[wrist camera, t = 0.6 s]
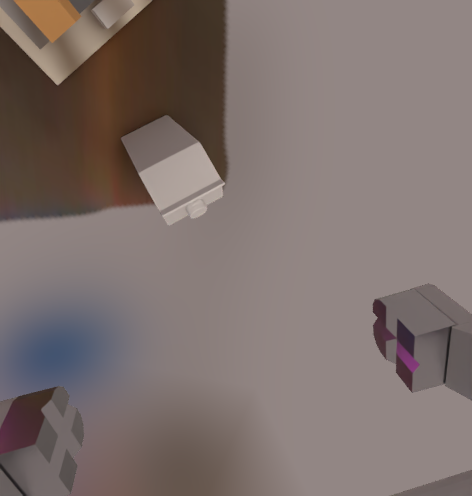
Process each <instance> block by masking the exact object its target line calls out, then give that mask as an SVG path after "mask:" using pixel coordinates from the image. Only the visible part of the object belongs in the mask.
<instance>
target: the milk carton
mask: <svg viewBox="0 0 472 496" xmlns="http://www.w3.org/2000/svg"><path fill="white" fill-rule="evenodd" d="M121 140H122V142H123V144H124V146H125V148H126V150H127V152H128V154H129V156H130V158H131V160H132V162H133V164H134V166H135V168H136V170H137V172H138V174H139V176H140V178H141V179H142V181H143V183H144V185H145V187H146V188H147V190H148V192H149V194H150V196H151V197H152V199H153V201H154V203H155V204H156V206H157V208H158V210H159V212H160V214H161V215H162V217H163V218H164V220H165V221H166V223H167V224H168V225H171V224H173V223H175V222H177V221H179V220H181V219H182V218H184V217H186V216H188V215H189V217H190V218H192V219H194V218H197V217H199V216H201V215H202V214H204V213H205V212H206V211H207V207H206V205H208V204H210V203H212V202H214V201H216V200H218V199H219V198H221V197H223V191H222V186H223V185H224V184H225V183H224V182H223V181H222V180H221V178H220V177H219V175H218V173H217V171H216V170H215V168H214V166H213V164H212V163H211V161H210V159H209V157H208V156H207V154H206V152H205V150H204V149H203V147H202V145H201V144H200V142H199V141H197V140H196V139H195V138H194V137H193V136H192V135H190V134H189V133H188V132H187V131H186V130H184V129H183V128H182V127H181V126H180V125H179V124H177V123H176V122H175V121H174V120H173V119H172V118H170V117H169V116H168V115H165V116H163V117H161V118H159V119H157V120H155V121H153V122H151V123H149V124H147V125H145V126H143V127H141V128H139V129H137V130H135V131H133V132H131V133H129V134H127V135H125V136H123V137H121Z"/></svg>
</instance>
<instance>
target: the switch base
mask: <svg viewBox="0 0 472 496" xmlns="http://www.w3.org/2000/svg"><path fill="white" fill-rule="evenodd" d="M151 1H152V0H94V1H93V2H92V3H91V4H90V5H89V6H88V7H87V8H86V9H85V10H83V11H82V12H81V13H80V15H81V16H82V17H81V18H80V19H79V20H78V21H76V22H75V23H74V24H73V25H72V26H71V27H70V28H69V29H68V30H66V31H65V32H64V33H63V34H62V35H61V36H60V37H59V38H58V39H56V40H55V41H54V42H53V43H51V41H50V40H49V39H48V38H47V37H46V36H45V35H44V34H43V33H42V31H41V30H40V29H39V28H38V27H37V26H36V25H35V24H34V23H33V21H32V20H31V19H30V18H29V17H28V16H27V15H26V14H25V13H24V12H23V10H22V9H21V8H20V7H19V6H18V5H17V4H16V3H15V2H14V0H0V27H1V28H2V29H3V30H4V31H5V32H6V33H7V34H8V35H9V36H10V37H11V38H12V39H13V40H14V41H15V42H16V43H17V44H18V45H19V46H20V47H21V48H22V49H23V50H24V51H25V52H26V54H27V55H28V56H29V57H30V58H31V59H32V60H33V61H34V62H35V63H36V64H37V65H38V66H39V67H40V68H41V69H42V70H43V71H44V72H45V73H46V74H47V75H48V76H49V77H50V78H51V79H52V80H53V81H54V82H55V83H56V84H57V86H58V85H59V84H60V83H61V82H62V81H63V80H64V79H66V78H67V77H68V76H69V75H70V74H71V73H72V72H73V71H74V70H76V69H77V68H78V67H79V66H80V65H81V64H82V63H83V62H84V61H86V60H87V59H88V58H89V57H90V56H91V55H92V54H93V53H94V52H96V51H97V50H98V49H99V48H100V47H101V46H102V45H103V44H104V43H106V42H107V41H108V40H109V39H110V38H111V37H112V36H113V35H114V34H116V33H117V32H118V31H119V30H120V29H121V28H122V27H123V26H124V25H126V24H127V23H128V22H129V21H130V20H131V19H132V18H133V17H134V16H136V15H137V14H138V13H139V12H140V11H141V10H142V9H143V8H144V7H146V6H147V5H148V4H149V3H150V2H151Z"/></svg>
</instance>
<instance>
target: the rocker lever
mask: <svg viewBox="0 0 472 496" xmlns="http://www.w3.org/2000/svg"><path fill="white" fill-rule="evenodd" d="M93 1H94V0H14V2H15V3H16V4H17V5H18V6H19V7H20V8H21V9H22V10H23V12H24V13H25V14H26V15H27V16H28V17H29V18H30V19H31V20H32V21H33V23H34V24H35V25H36V26H37V27H38V28H39V29H40V30H41V31H42V33H43V34H44V35H45V36H46V37H47V38H48V39H49V40H50V41H51V43H53V42H54V41H55V40H56V39H58V38H59V37H60V36H61V35H62V34H63V33H64V32H65V31H66V30H68V29H69V28H70V27H71V26H72V25H73V24H74V23H75V22H76V21H78V20H79V19H80V18H81V17H82V16H81V15H80V13H81V12H82V11H83V10H85V9H86V8H87V7H88V6H89V5H90V4H91V3H92V2H93Z"/></svg>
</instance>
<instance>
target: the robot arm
mask: <svg viewBox="0 0 472 496" xmlns="http://www.w3.org/2000/svg"><path fill="white" fill-rule="evenodd" d="M373 313H374V314H375V315H376V316H377V317H378V318H377V320H376V322H375V323H374V325H373V332H374V338H375V341H376V344H377V346H378V348H379V350H380V352H381V353H382V355H383V356H384V357H385V359H386V360H388V361H391V362H393V363H395V364H396V373H397V374H398V376H399V377H400V378H401V379H402V381H403V382H404V383H405V385H406V386H407V387H408V388H409V390H410V391H411V392H412V393H413V392H417V391H421V390H424V389H428V388H432V387H436V386H439V385H443V384H445V386H446V387H448V388H450V389H452V390H454V391H456V392H457V393H459V394H461V395H463V396H465V397H466V398H468V399H470V400H472V314H471V313H469V312H468V311H467V310H466V309H464V308H463V307H462V306H460V305H459V304H458V303H457V302H455V301H454V300H453V299H451V298H450V297H449V296H447V295H446V294H445V293H444V292H442V291H441V290H440V289H438V288H437V287H436V286H435V285H432V284H425V285H422V286H419V287H415V288H412V289H410V290H406V291H403V292H399V293H396V294H392V295H389V296H385V297H382V298H378V299H375V300H374V302H373ZM68 400H69V394H68V393H67V391H66V390H65V388H64V387H60V386H58V387H54V388H50V389H46V390H42V391H38V392H34V393H30V394H26V395H22V396H18V397H15V398H11V399H7V400H3V401H0V496H66V495H70V494H71V491H72V487H73V482H74V478H75V474H76V470H77V464H76V462H75V461H74V459H73V458H74V456H75V455H76V454H77V453H78V451H79V450H80V449H81V447H82V442H83V437H84V430H83V421H82V418H81V415H80V413H79V411H78V409H77V408H75V407H73V406H70V405H68ZM391 496H472V470H470V471H467V472H463V473H460V474H457V475H454V476H451V477H448V478H445V479H441V480H439V481H435V482H432V483H429V484H426V485H423V486H419V487H416V488H413V489H410V490H407V491H403V492H401V493H397V494H394V495H391Z"/></svg>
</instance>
